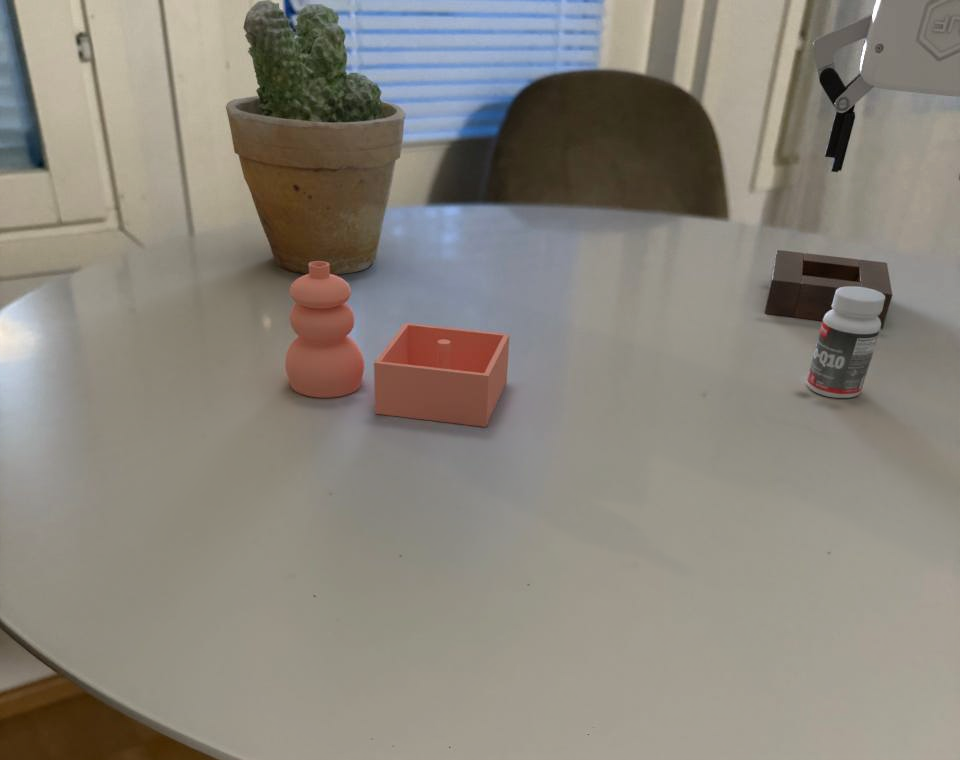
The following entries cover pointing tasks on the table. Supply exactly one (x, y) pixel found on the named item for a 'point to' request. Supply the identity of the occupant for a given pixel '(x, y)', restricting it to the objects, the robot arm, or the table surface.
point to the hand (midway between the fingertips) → (899, 176)
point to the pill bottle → (846, 342)
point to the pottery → (393, 358)
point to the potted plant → (314, 142)
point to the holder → (820, 283)
